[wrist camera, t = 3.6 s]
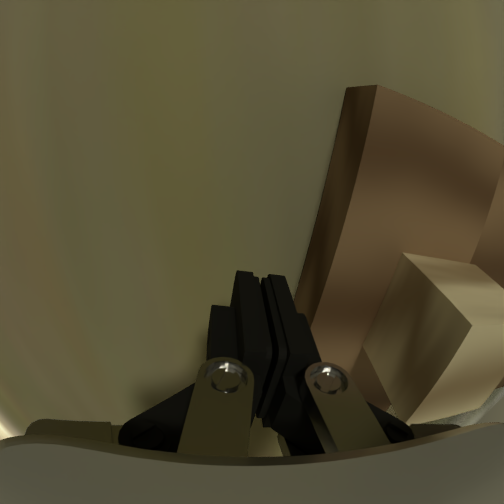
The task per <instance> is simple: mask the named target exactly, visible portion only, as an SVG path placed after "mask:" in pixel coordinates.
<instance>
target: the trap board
mask: <svg viewBox="0 0 504 504" xmlns="http://www.w3.org/2000/svg"><path fill="white" fill-rule="evenodd" d="M402 252H403V253H409V254H415V255H421V256H427V257H433V258H439V259H445V260H451V261H457V262H462V263H468V264H474V265H476V266H477V267H479V268H480V269H481V270H482V271H483V272H485V273H486V274H487V275H488V276H489V277H490V278H492V279H493V280H494V281H495V282H496V283H497V284H499V285H500V286H501V287H502V288H503V289H504V146H503V145H502V144H500V143H498V142H497V141H495V140H493V139H492V138H490V137H488V136H487V135H485V134H483V133H481V132H480V131H478V130H476V129H474V128H472V127H471V126H469V125H467V124H465V123H463V122H461V121H459V120H457V119H455V118H453V117H451V116H449V115H447V114H445V113H443V112H441V111H439V110H437V109H435V108H433V107H430V106H428V105H426V104H424V103H422V102H419V101H417V100H415V99H412V98H410V97H407V96H405V95H403V94H400V93H398V92H395V91H393V90H390V89H387V88H385V87H382V86H379V85H369V86H358V87H348V88H346V93H345V98H344V103H343V108H342V113H341V118H340V122H339V127H338V131H337V136H336V141H335V145H334V149H333V154H332V158H331V162H330V167H329V171H328V175H327V179H326V183H325V187H324V192H323V196H322V200H321V204H320V208H319V211H318V215H317V219H316V223H315V227H314V231H313V235H312V238H311V242H310V246H309V249H308V253H307V257H306V260H305V264H304V268H303V271H302V275H301V278H300V282H299V285H298V289H297V292H296V295H295V299H294V304H295V307H296V310H297V313H303V314H305V316H306V318H307V321H308V324H309V327H310V329H311V332H312V335H313V338H314V341H315V343H316V346H317V349H318V352H319V355H320V357H321V360H322V362H329V363H333V364H336V365H338V366H340V367H342V368H343V369H344V370H346V371H347V372H348V373H349V375H350V376H351V377H352V379H353V381H354V382H355V384H356V386H357V387H358V389H359V391H360V392H361V394H362V396H363V397H364V399H365V400H366V401H367V402H369V403H371V404H373V405H374V406H376V407H378V408H380V409H381V410H383V411H385V412H386V410H387V409H388V408H389V406H390V405H391V402H390V400H389V398H388V396H387V394H386V392H385V390H384V388H383V386H382V383H381V381H380V379H379V377H378V375H377V373H376V371H375V369H374V367H373V365H372V363H371V361H370V359H369V357H368V355H367V353H366V351H365V349H364V347H363V343H364V341H365V339H366V337H367V335H368V333H369V331H370V329H371V326H372V324H373V322H374V320H375V318H376V315H377V313H378V311H379V309H380V306H381V304H382V302H383V299H384V297H385V295H386V292H387V290H388V287H389V285H390V283H391V280H392V278H393V275H394V273H395V270H396V267H397V265H398V262H399V260H400V257H401V254H402ZM503 386H504V377H503V378H502V380H501V381H500V382H499V384H498V385H497V386H496V388H495V389H497V388H500V387H503Z"/></svg>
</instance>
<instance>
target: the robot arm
mask: <svg viewBox="0 0 504 504" xmlns="http://www.w3.org/2000/svg"><path fill="white" fill-rule="evenodd" d="M255 413H256V417H257V418H262V424H263V427H271V428H272V429H273V430H274V431H276V432H277V433H278V435H277V438H278V443H279V446H280V449H281V452H282V454H283V457H248V447H249V436H250V428H251V425H252V422H253V419H254V416H255ZM0 504H504V423H499V422H496V423H495V422H494V423H481V424H474V425H469V426H465V427H460V426H458V425H454V424H411V425H410V426H408V425H407V424H406V423H404V422H403V421H401V420H399V419H398V418H396V417H394V416H392V415H390V414H389V413H387V412H385V411H383V410H381V409H380V408H378V407H376V406H374V405H373V404H371V403H369V402H367V401H366V400H365V399H364V397H363V396H362V394H361V392H360V391H359V389H358V387H357V386H356V384H355V382H354V381H353V379H352V377H351V376H350V375H349V373H348V372H347V371H346V370H344V369H343V368H342V367H340V366H338V365H336V364H333V363H329V362H322V360H321V357H320V355H319V352H318V349H317V346H316V343H315V341H314V338H313V335H312V332H311V329H310V327H309V324H308V321H307V318H306V316H305V314H303V313H297V310H296V307H295V304H294V301H293V298H292V295H291V293H290V290H289V287H288V284H287V281H286V278H285V276H281V275H272V274H269V275H268V277H267V278H262V280H261V284H260V282H259V278H258V277H254V275H253V272H246V271H238V270H237V271H236V276H235V281H234V287H233V293H232V298H231V304H230V307H228V306H218V305H212V306H211V312H210V320H209V328H208V339H207V361H206V362H205V363H204V364H202V365H201V367H200V369H199V371H198V375H197V379H196V382H195V383H194V384H192V385H190V386H189V387H187V388H185V389H184V390H182V391H180V392H178V393H177V394H175V395H173V396H172V397H170V398H168V399H166V400H165V401H163V402H161V403H159V404H158V405H156V406H154V407H152V408H150V409H149V410H147V411H145V412H143V413H141V414H140V415H138V416H136V417H134V418H132V419H130V420H129V421H128V422H126V423H125V424H124V425H111V422H94V421H70V420H55V419H39V420H37V421H35V422H32V423H31V424H30V425H29V427H28V428H27V429H26V432H25V435H23V436H15V437H10V438H6V439H3V440H0Z"/></svg>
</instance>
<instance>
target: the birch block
mask: <svg viewBox="0 0 504 504" xmlns="http://www.w3.org/2000/svg"><path fill="white" fill-rule="evenodd" d="M363 347H364V349H365V351H366V353H367V355H368V357H369V359H370V361H371V363H372V365H373V367H374V369H375V371H376V373H377V375H378V377H379V379H380V381H381V383H382V386H383V388H384V390H385V392H386V394H387V396H388V398H389V400H390V402H391V404H392V406H393V409H394V411H395V413H396V415H397V417H398V419H399V420H401V421H403V422H404V423H406V424H407V425H408V426H410V425H411V424H420V423H425V422H429V421H434V420H438V419H442V418H446V417H450V416H453V415H457V414H461V413H464V412H468V411H471V410H474V409H477V408H480V407H481V405H482V404H483V403H484V402H485V401H486V399H487V398H488V397H489V396H490V394H491V393H492V392H493V390H494V389H495V388H496V386H497V385H498V384H499V382H500V381H501V380H502V378H503V377H504V289H503V288H502V287H501V286H500V285H499V284H497V283H496V282H495V281H494V280H493V279H492V278H490V277H489V276H488V275H487V274H486V273H485V272H483V271H482V270H481V269H480V268H479V267H477V266H476V265H474V264H468V263H462V262H457V261H451V260H445V259H439V258H433V257H427V256H421V255H415V254H409V253H403V252H402V254H401V257H400V260H399V262H398V265H397V267H396V270H395V273H394V275H393V278H392V280H391V283H390V285H389V287H388V290H387V292H386V295H385V297H384V299H383V302H382V304H381V306H380V309H379V311H378V313H377V315H376V318H375V320H374V322H373V324H372V326H371V329H370V331H369V333H368V335H367V337H366V339H365V341H364V343H363Z"/></svg>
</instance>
